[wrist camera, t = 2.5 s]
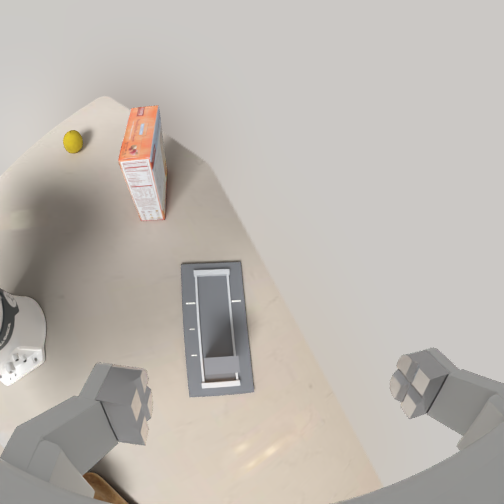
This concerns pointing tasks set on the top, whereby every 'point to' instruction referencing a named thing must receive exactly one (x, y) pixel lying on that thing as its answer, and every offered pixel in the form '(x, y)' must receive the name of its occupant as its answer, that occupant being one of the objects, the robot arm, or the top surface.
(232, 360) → the fader cap
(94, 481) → the tan ugg boot
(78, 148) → the lemon
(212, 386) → the grey fader base
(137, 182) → the cracker box
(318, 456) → the top surface
